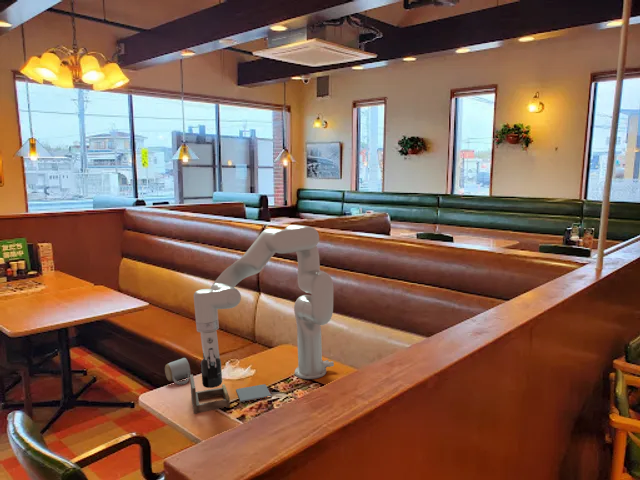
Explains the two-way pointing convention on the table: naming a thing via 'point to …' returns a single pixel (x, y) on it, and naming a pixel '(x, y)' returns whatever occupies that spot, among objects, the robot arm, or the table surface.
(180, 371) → the ceramic mug
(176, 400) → the table surface
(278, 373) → the table surface
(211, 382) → the supplement bottle
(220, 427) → the table surface
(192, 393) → the dispenser stand
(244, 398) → the rubber pad
